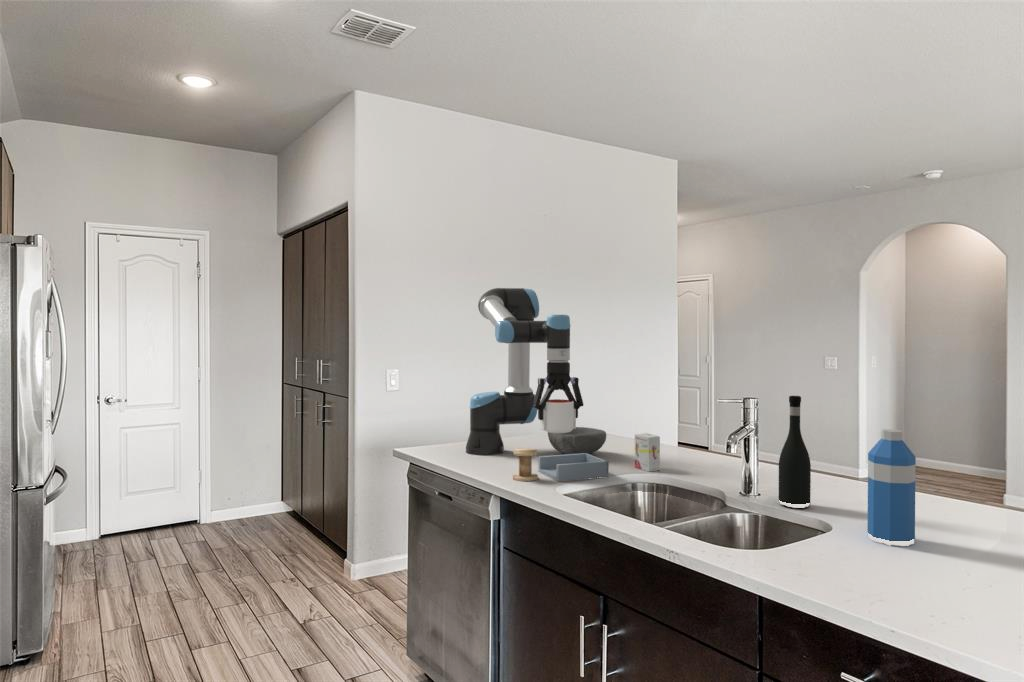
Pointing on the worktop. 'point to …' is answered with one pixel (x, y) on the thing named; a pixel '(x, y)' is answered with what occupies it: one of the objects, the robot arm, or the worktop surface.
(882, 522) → the water bottle
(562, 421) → the cup
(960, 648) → the worktop surface
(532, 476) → the bobbin
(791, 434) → the wine bottle
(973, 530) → the worktop surface
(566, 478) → the notch board
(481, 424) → the robot arm
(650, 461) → the ink box
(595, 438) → the bowl
